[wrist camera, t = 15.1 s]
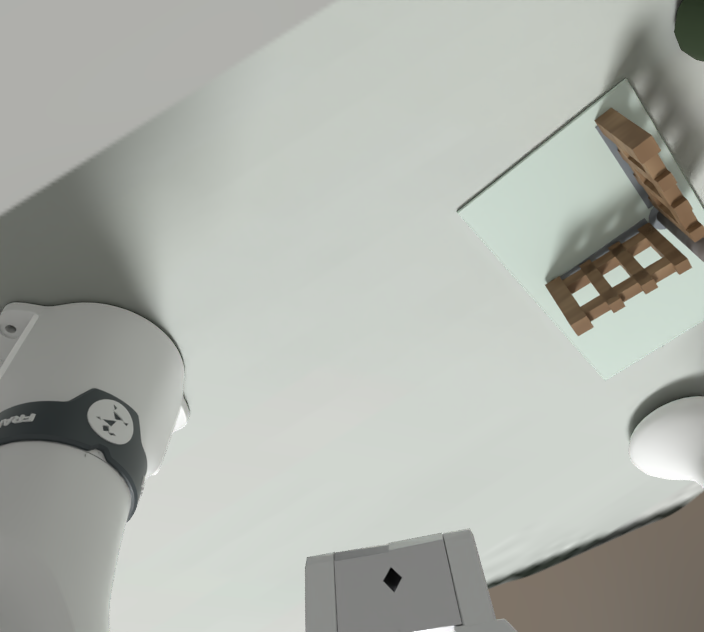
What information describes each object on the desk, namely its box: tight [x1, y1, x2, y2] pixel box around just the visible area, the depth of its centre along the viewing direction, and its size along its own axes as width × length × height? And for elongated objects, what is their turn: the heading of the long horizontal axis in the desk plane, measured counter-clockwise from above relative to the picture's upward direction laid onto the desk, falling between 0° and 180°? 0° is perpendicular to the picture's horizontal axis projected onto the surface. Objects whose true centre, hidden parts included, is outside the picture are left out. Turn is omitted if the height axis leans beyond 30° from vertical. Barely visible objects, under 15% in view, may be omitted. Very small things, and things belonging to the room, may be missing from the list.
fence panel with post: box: [594, 108, 704, 262], centre depth 44 cm, size 2×12×7 cm, turn 42°
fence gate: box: [545, 222, 692, 336], centre depth 48 cm, size 1×10×6 cm, turn 128°
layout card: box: [457, 78, 704, 381], centre depth 51 cm, size 15×25×1 cm, turn 42°
